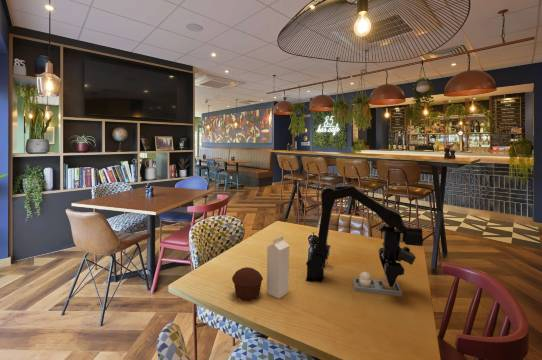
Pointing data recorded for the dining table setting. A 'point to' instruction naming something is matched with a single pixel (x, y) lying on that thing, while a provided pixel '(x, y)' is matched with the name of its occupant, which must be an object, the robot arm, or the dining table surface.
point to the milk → (278, 268)
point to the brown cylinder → (387, 284)
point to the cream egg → (365, 280)
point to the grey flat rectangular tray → (377, 288)
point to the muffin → (247, 283)
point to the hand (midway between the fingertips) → (388, 281)
